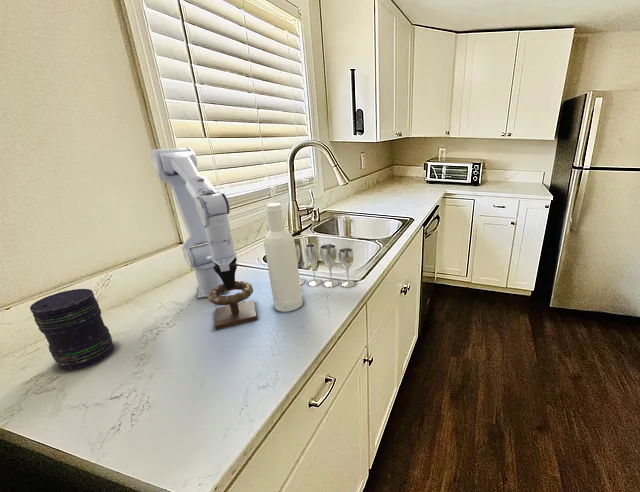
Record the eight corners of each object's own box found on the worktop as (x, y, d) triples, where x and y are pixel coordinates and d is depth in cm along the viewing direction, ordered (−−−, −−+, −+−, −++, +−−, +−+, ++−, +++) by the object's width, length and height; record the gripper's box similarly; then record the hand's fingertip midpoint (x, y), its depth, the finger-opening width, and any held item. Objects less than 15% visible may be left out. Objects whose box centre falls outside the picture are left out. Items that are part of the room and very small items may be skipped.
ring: (209, 292, 90) (207, 284, 89) (251, 284, 95) (250, 276, 94) (208, 310, 81) (206, 302, 80) (255, 300, 86) (253, 292, 85)
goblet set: (357, 280, 110) (354, 243, 105) (353, 288, 104) (350, 249, 100) (278, 277, 113) (272, 241, 108) (270, 285, 107) (263, 247, 102)
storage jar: (103, 338, 81) (81, 285, 75) (124, 350, 76) (102, 294, 71) (49, 363, 73) (20, 304, 67) (69, 377, 68) (39, 316, 63)
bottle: (268, 309, 93) (249, 206, 82) (286, 296, 100) (270, 200, 89) (292, 314, 90) (276, 208, 80) (308, 300, 97) (295, 201, 87)
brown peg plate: (216, 311, 92) (211, 294, 90) (254, 303, 96) (250, 286, 94) (215, 329, 84) (210, 310, 82) (257, 319, 88) (253, 301, 86)
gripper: (204, 234, 90) (214, 278, 95) (201, 250, 78) (213, 300, 83) (232, 230, 93) (241, 273, 98) (233, 245, 81) (243, 293, 86)
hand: (230, 285), depth 91 cm, fingers closed on ring, 2 cm apart
